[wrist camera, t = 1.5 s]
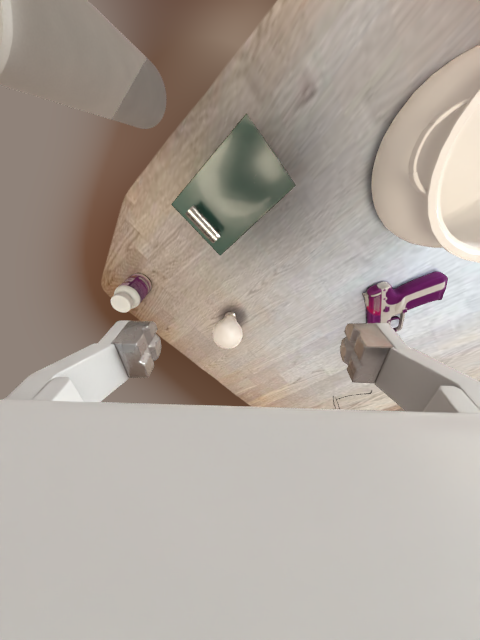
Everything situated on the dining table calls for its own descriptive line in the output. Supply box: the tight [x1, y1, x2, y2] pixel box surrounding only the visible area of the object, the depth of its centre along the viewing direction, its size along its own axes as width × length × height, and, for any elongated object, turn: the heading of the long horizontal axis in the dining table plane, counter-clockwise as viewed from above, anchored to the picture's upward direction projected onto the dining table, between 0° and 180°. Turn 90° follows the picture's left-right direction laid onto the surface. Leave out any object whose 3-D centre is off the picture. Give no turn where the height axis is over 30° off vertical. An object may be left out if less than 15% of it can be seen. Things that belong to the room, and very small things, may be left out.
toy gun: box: [362, 272, 448, 332], centre depth 54 cm, size 4×22×15 cm
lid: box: [172, 114, 296, 255], centre depth 33 cm, size 15×11×5 cm
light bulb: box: [212, 312, 243, 349], centre depth 53 cm, size 7×7×11 cm
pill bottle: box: [111, 274, 152, 312], centre depth 50 cm, size 5×5×10 cm
